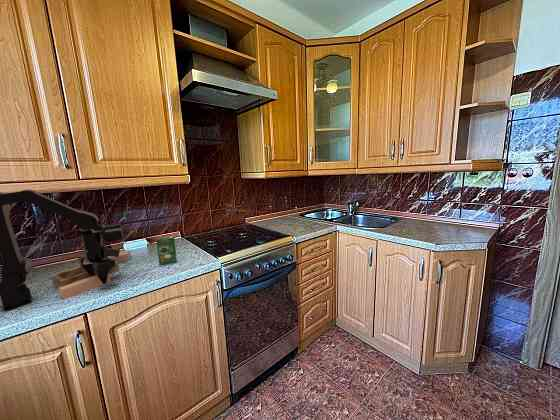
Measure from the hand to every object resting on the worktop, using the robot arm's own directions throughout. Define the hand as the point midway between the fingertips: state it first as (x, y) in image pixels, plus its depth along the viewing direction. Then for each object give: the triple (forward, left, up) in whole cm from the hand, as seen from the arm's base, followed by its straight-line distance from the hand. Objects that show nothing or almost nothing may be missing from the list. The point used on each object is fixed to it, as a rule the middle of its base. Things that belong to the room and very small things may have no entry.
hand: (99, 281), depth 95 cm
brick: (+14, +24, -2) cm, 28 cm away
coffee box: (+26, -6, -1) cm, 27 cm away
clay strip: (-5, 0, -1) cm, 5 cm away
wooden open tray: (0, +13, -1) cm, 13 cm away
